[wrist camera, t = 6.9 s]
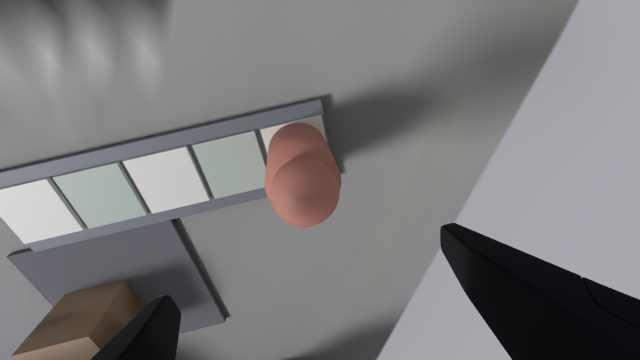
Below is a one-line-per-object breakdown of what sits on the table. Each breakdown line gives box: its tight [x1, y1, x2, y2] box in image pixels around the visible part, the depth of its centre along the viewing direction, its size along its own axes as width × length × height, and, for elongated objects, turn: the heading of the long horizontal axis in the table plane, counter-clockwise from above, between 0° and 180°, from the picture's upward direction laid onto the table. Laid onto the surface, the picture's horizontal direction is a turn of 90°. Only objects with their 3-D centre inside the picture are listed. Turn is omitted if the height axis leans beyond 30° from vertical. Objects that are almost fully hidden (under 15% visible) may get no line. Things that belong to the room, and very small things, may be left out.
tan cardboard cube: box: [11, 279, 146, 360], centre depth 21 cm, size 5×5×5 cm
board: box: [0, 98, 331, 252], centre depth 19 cm, size 6×22×1 cm, turn 101°
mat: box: [7, 219, 226, 334], centre depth 23 cm, size 12×12×1 cm
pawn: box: [265, 123, 341, 227], centre depth 16 cm, size 4×4×8 cm
